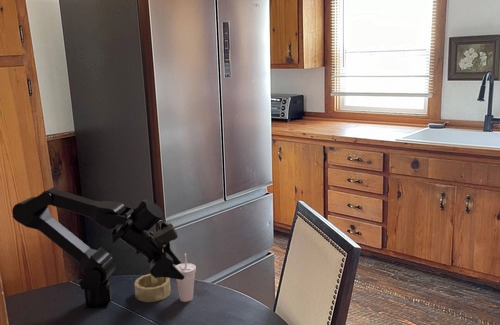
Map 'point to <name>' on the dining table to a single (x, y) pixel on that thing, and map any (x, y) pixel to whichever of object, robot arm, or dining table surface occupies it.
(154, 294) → the collar
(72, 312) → the dining table surface
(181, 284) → the smoothie
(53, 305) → the dining table surface
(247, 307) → the dining table surface
